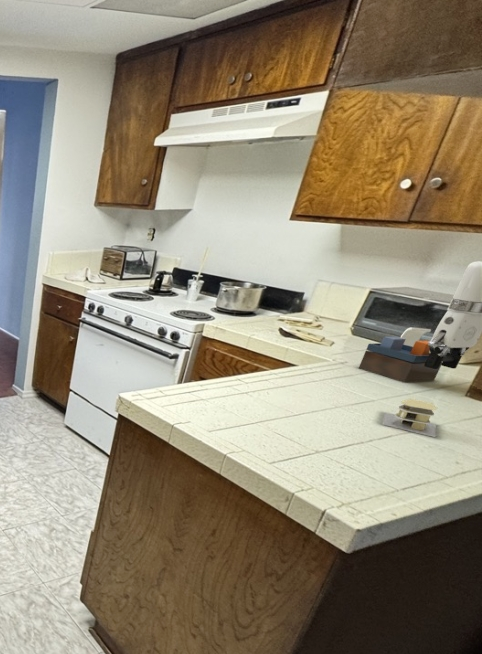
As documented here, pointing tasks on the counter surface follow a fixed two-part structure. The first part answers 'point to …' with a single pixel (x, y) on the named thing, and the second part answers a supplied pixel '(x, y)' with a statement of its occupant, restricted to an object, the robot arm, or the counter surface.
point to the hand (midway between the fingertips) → (439, 366)
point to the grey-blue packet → (393, 343)
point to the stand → (397, 368)
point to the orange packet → (420, 348)
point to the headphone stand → (413, 335)
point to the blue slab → (403, 353)
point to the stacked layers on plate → (413, 417)
